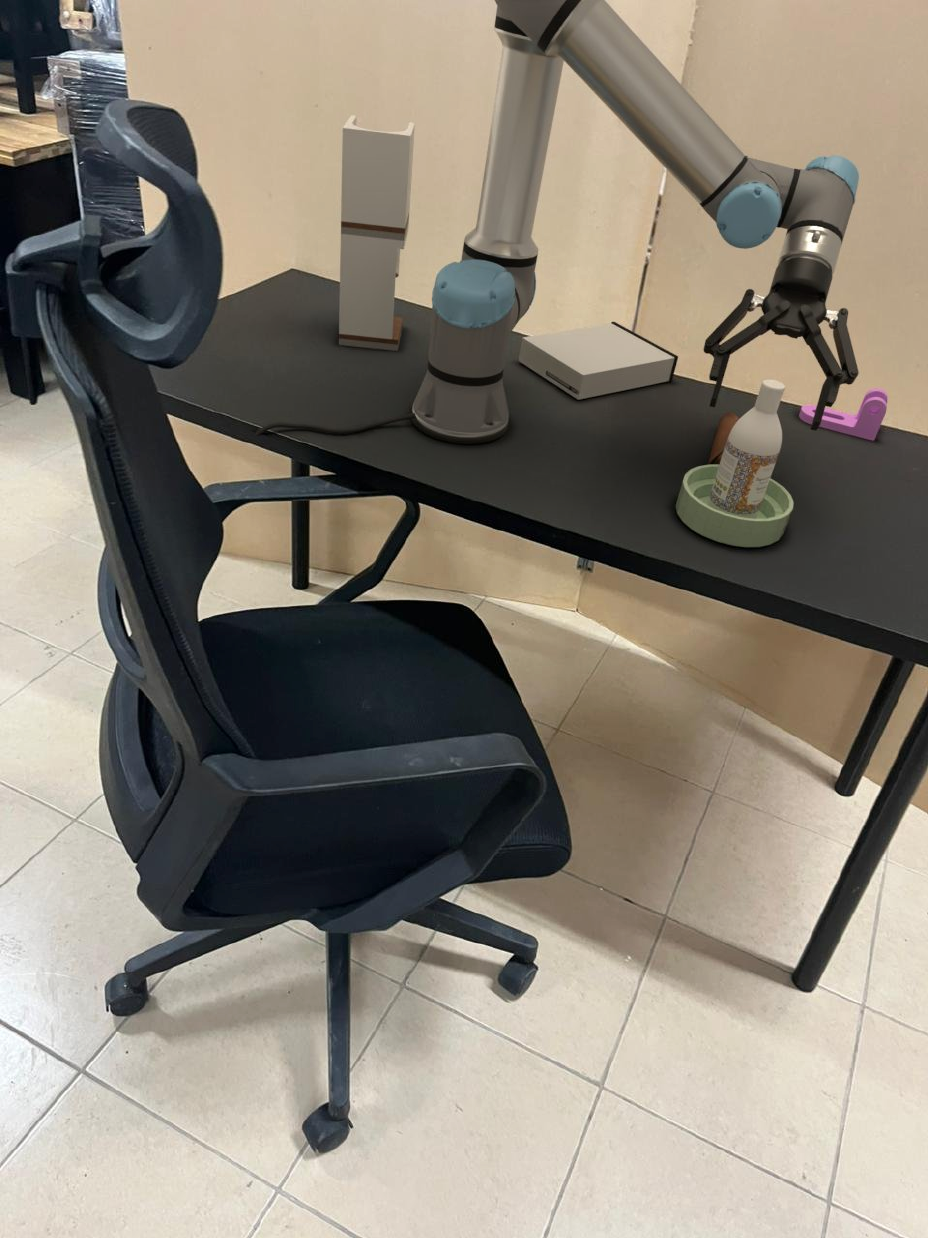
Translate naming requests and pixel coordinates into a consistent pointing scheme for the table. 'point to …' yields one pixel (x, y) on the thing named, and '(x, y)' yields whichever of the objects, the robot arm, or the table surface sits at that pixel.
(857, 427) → the bracket
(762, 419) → the bath foam
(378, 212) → the tall white banded column
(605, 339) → the disc drive
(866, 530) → the table surface
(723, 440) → the sunglasses case
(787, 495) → the dish
